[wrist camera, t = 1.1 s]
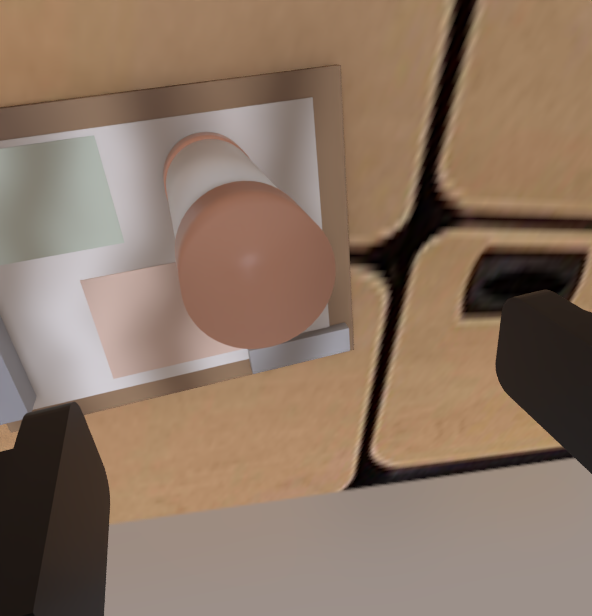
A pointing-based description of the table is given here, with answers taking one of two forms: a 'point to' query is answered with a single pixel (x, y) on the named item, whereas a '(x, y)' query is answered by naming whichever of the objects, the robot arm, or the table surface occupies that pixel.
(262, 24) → the table surface
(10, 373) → the button housing
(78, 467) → the robot arm
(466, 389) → the table surface
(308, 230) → the marker
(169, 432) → the table surface
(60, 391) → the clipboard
